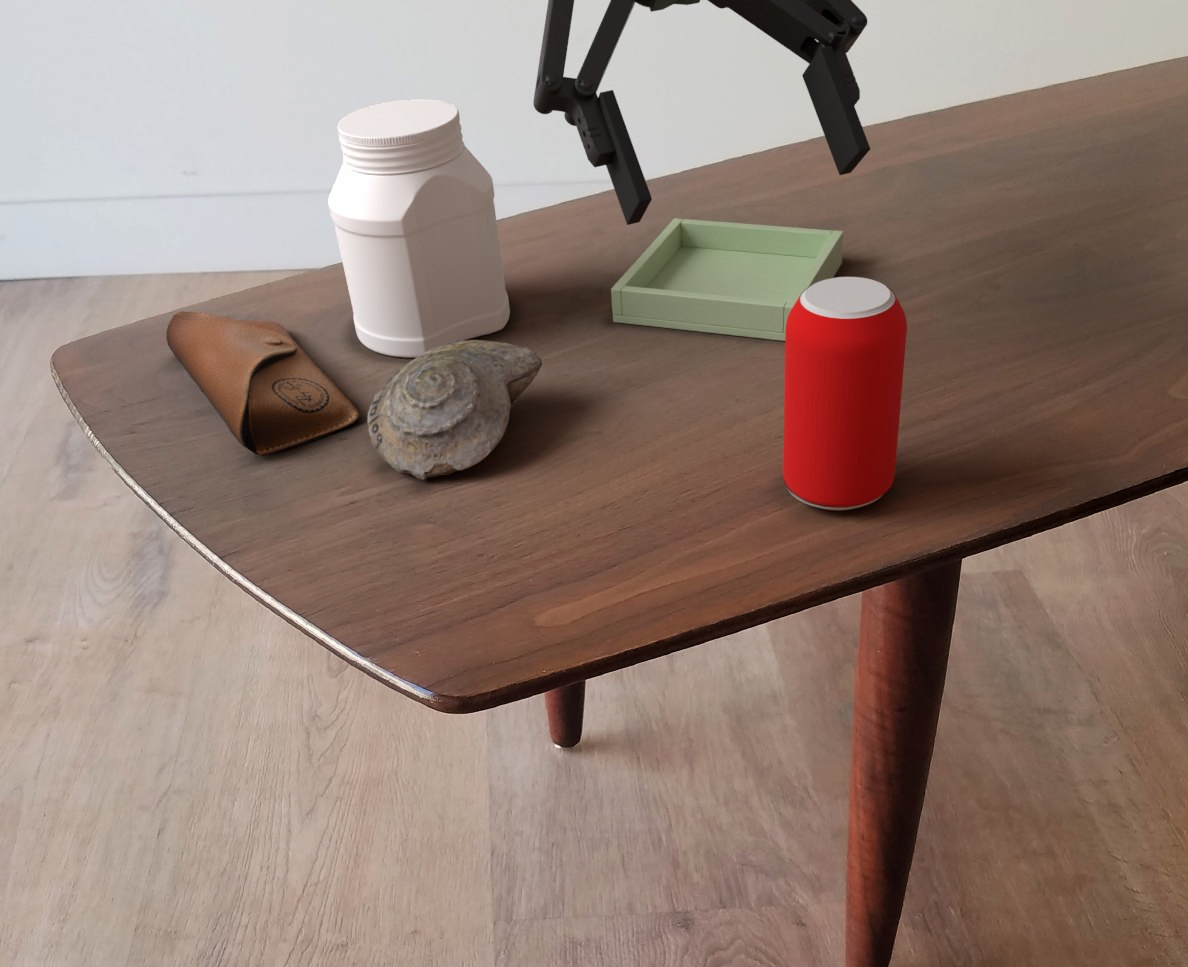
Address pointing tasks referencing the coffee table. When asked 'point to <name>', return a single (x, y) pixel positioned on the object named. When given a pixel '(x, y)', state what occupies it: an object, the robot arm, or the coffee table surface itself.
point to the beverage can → (843, 392)
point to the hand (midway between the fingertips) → (750, 187)
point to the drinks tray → (725, 277)
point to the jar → (416, 229)
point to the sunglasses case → (258, 381)
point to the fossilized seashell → (449, 406)
